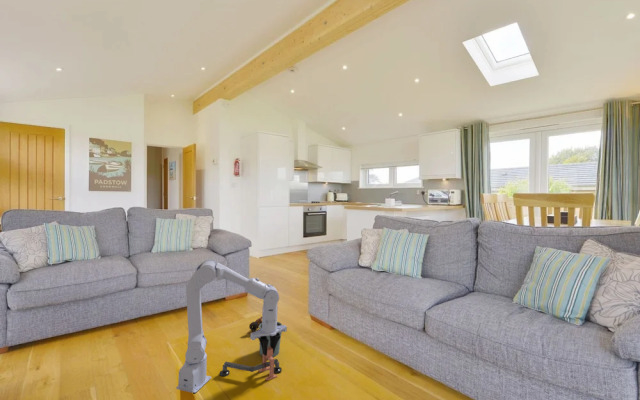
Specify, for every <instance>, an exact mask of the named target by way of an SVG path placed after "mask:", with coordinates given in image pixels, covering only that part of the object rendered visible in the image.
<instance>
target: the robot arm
mask: <svg viewBox="0 0 640 400" xmlns="http://www.w3.org/2000/svg"><path fill="white" fill-rule="evenodd" d="M215 279H216V281H221V280H227V281H229V282H231V283H233V284H235V285H239V286H241V287H243V288H244V292H246V293H248V294H249V295H252V296H254V298H255V297H256V298H258V299H260V300H262V301H263V303H262V305H263V306H262V314H261V315H262V316H261V317H262V329H260V330H259V329H257V330H256V332H250V340H251V341H255V340H256V339H258V341H259V344H260V343H261V346H262V351H263V354H264V355H265V356H266V355H267V346H268V342H269V340H268V339H267V337H266V336H269V335H270V346H271V347H272V348H273V353H274V351H275V348H276V345H277V343H278V341H279V339H280V336H281V337H282V334H281V335H280V334H279V332H282V333H283V332H284V333H285V332H288V331H287V330H288V326H287V325H286V324H282V325H281V326H277V322H278V302H279V300H280V295H279V292H278V290H277V288H276V287H275V286H274V285H273V284H270V283H265V282H263V281H261V280H260V278H258V277H251V278H247V277H245V276H244V275H242V274H241V273H239V272H236V271H235V270H233V269H231V268H229V267H227V266H226V265H224V264H222V263H221V262H216V261H215V260H213V259H206V260H204V261H202V262H201V263H200V264H198V266H197V267H196V268H195V271H194V272H193V274H192V275H191V276H190V278H189V280H188V281H187V283H186V285H185V286H186V287H185V292H186V293H185V294H186V309H187V310H186V312H187V313H186V314H187V325H188V326H187V332H188V338H187V350H186V352H185V360H184V361H185V362H184V364H183V365H182V367H180V368H179V370H178V385H177V386H176V387H175V388H176V389H175V390H179V391H184V392H188V393H193V394H196V393H198V392H199V390H200V389H201V388H202V387H204V386H205V385H206V384H207V383H208V381H210V380H211V379H212V376H210V375H207V366H208V364H207V362H208V361H207V358H208V354H207V352H206V347H207V344H208V340H207V338H206V337H205V334H204V333H205V332H204V328H203V309H202V295H201V294H202V293H201V289H202V288H203V287H204V286H206V285H207V284H210V283H211V282H213V281H215ZM280 340H281V339H280Z"/></svg>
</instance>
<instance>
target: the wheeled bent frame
mask: <svg viewBox="0 0 640 400" xmlns="http://www.w3.org/2000/svg"><path fill="white" fill-rule="evenodd" d="M266 367H270V361H269V360H268V361H267V362H266V363H260V364H256V365H254V366H253V365H252V366H251V365H246V364H241V363H240V364H239V363H235V362H230V361H225V362H224V363H223V365H222V370H220V371H219V376H220V377H228V376H230V370H229V369H228V368H231V369H236V370H241V371H246V372H250V373H253V372H256V371H258V370H260V369H262V368H266ZM281 372H282V367H280V361H279V359H277V358H274V374H280V373H281Z"/></svg>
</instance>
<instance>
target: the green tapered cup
mask: <svg viewBox="0 0 640 400" xmlns="http://www.w3.org/2000/svg"><path fill="white" fill-rule="evenodd" d="M281 325H283V324H282V322H279V321H277V326H281ZM260 329H262V323H261V324H260V325H259V328H258V330H260ZM282 333H283V332H279V334H280V335H281V336H280V339H279V341H278V343H277V345H276V348H275V351H274V353H273V355H272V357H273V358H274V357H276V356H278V355H279V354H280V348H281V337H282ZM266 337H267V339H268V340H269V342H268V346H267V347H269V346H270V335H269V336H266ZM258 351H259V355H260V356H261V357H263V351H262V346H261V343H260V342H259V350H258Z"/></svg>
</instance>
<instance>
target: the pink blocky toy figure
mask: <svg viewBox="0 0 640 400" xmlns="http://www.w3.org/2000/svg"><path fill="white" fill-rule="evenodd" d="M272 355H273V348H272V347H271V346H269V347H267V355H266V356H265V355H264V354H263V356H262V363H266V362H269V361H270V366H269V367H266V368H262V369H259V370H257V371H258V372H259V373H263V372H265V371H268V370H269V376H267V377H265V380H266V381H271V380H273V379H276V378H278V375H277V373H274V367H275V365H274V360H275V358H274V357H272ZM267 360H268V361H267ZM262 363H261V364H262Z"/></svg>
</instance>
